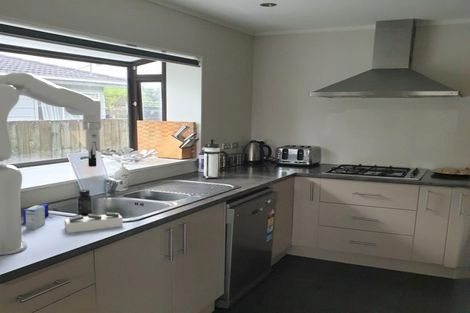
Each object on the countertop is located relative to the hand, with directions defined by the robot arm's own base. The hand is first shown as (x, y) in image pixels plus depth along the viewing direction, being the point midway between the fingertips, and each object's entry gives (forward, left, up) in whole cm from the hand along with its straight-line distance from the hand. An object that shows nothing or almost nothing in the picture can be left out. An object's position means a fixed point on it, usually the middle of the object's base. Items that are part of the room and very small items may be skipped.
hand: (92, 166), depth 180 cm
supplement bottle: (+7, +11, -26) cm, 29 cm away
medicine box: (-18, +16, -26) cm, 35 cm away
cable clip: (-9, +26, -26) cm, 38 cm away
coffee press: (+130, -5, -26) cm, 133 cm away
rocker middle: (-9, -8, -21) cm, 24 cm away
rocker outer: (-3, -13, -21) cm, 24 cm away
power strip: (-8, -7, -26) cm, 28 cm away
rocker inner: (-15, -3, -21) cm, 25 cm away
